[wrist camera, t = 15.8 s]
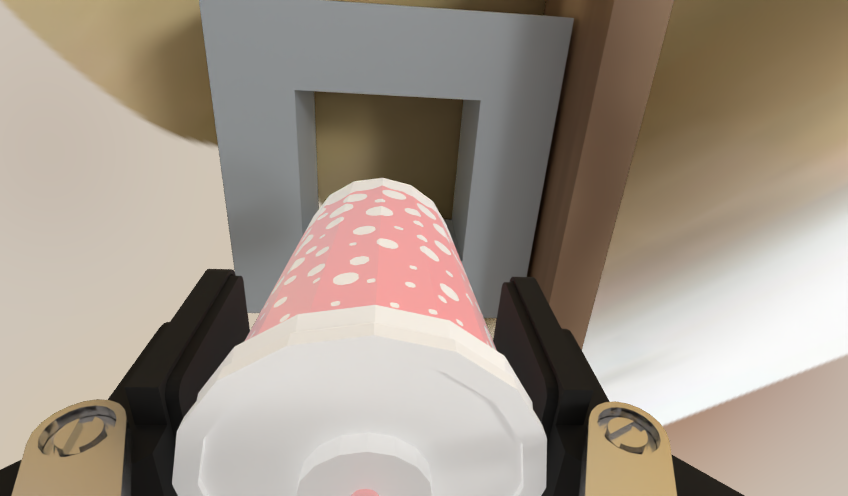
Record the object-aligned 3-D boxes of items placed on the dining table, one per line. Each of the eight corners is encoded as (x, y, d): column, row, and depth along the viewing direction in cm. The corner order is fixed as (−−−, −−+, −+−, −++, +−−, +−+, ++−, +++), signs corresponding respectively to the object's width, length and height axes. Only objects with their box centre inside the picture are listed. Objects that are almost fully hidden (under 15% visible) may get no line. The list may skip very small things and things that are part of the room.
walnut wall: (598, -55, 22) (696, -83, 15) (527, 310, 31) (567, 402, 24) (555, -58, 22) (633, -88, 15) (497, 309, 31) (528, 402, 24)
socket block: (539, 15, 23) (574, 18, 18) (499, 270, 29) (518, 318, 25) (238, -6, 22) (197, -9, 17) (264, 263, 28) (240, 312, 24)
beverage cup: (418, 343, 18) (479, 1130, 5) (258, 281, 16) (-185, 1190, 4) (505, 205, 16) (966, 1021, 3) (328, 117, 14) (-208, 1063, 1)
